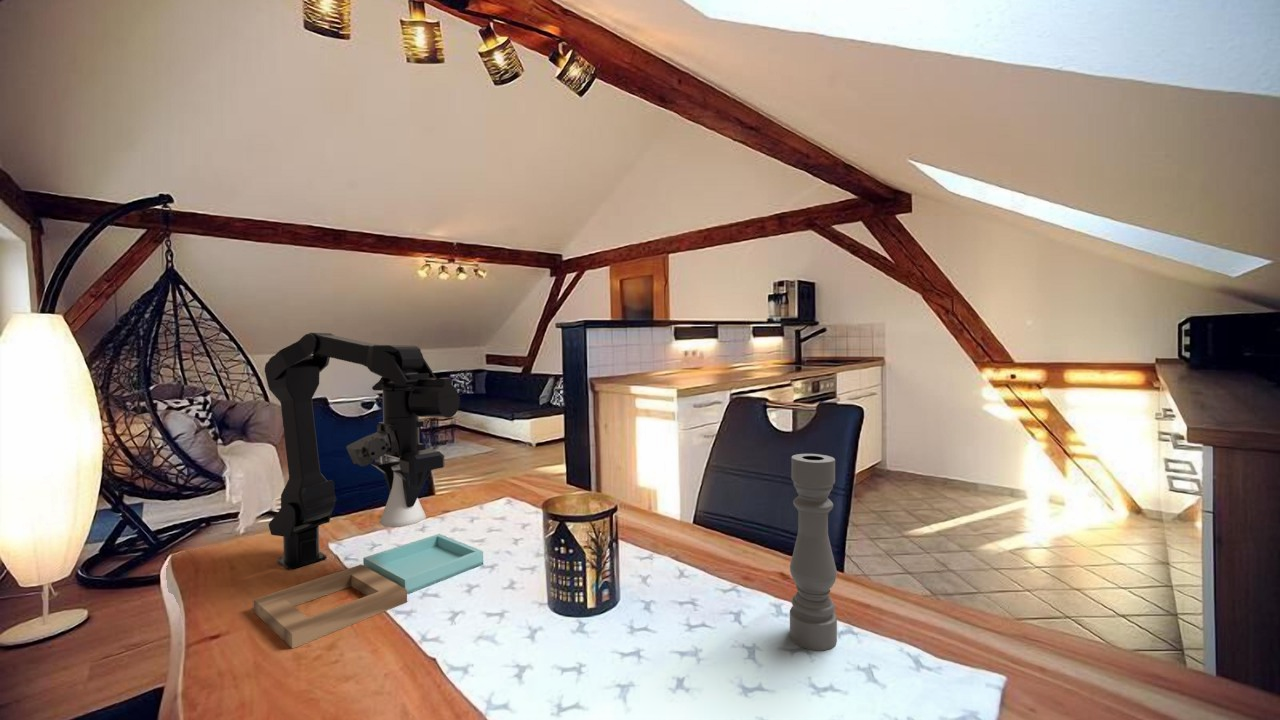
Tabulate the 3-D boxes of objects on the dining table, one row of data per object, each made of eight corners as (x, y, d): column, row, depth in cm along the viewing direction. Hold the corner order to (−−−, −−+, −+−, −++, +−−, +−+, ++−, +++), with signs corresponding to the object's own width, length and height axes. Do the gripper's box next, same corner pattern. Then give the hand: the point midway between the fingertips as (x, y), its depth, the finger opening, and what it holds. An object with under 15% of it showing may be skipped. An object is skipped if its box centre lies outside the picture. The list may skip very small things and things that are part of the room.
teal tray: (363, 571, 94) (363, 557, 94) (439, 545, 106) (439, 533, 106) (405, 595, 85) (405, 580, 85) (483, 564, 97) (483, 551, 97)
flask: (371, 524, 90) (370, 467, 90) (407, 512, 96) (406, 459, 96) (398, 531, 87) (397, 472, 86) (434, 518, 93) (433, 463, 93)
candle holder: (813, 655, 67) (813, 465, 67) (780, 632, 73) (779, 456, 72) (847, 642, 70) (847, 459, 69) (812, 621, 76) (812, 451, 75)
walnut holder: (253, 612, 80) (253, 599, 80) (361, 575, 92) (361, 564, 92) (292, 648, 70) (292, 634, 70) (407, 602, 83) (406, 589, 83)
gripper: (330, 416, 91) (332, 504, 91) (377, 426, 79) (379, 527, 79) (394, 410, 99) (395, 490, 100) (445, 418, 87) (447, 509, 88)
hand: (403, 503), depth 92 cm, fingers closed on flask, 5 cm apart
